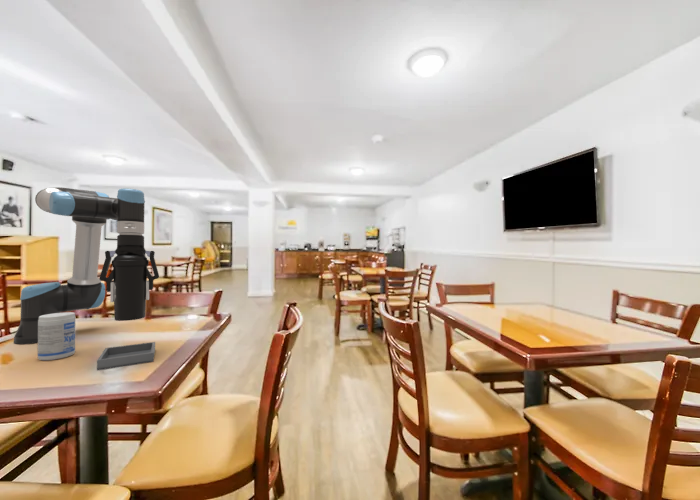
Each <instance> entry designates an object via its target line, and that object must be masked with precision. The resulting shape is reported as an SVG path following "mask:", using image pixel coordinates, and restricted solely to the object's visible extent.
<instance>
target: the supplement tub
mask: <svg viewBox="0 0 700 500" xmlns="http://www.w3.org/2000/svg"><path fill="white" fill-rule="evenodd" d="M75 352H76V312H71V311H65V312H60V313H54V314H46V315H42V316H39V320H38V343H37V359H38V360H39V361H54V360H59V359H65V358H69V357H71V356H72V355H74V354H75Z"/></svg>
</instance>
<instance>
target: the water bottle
mask: <svg viewBox="0 0 700 500" xmlns="http://www.w3.org/2000/svg"><path fill="white" fill-rule="evenodd" d="M116 252H120V255H117V254H116V256H114V258H113V259H111V267H112V270H113V276H114V277H113V280H112V282H114V302H113V306H114V307H113V308H114V321H117V322H118V321H119V322H123V321H124V322H126V321H135V320H142V319H144V318H146V309H147V308H146V307H147V306H146V305H147V300H146V281H148V278H147V276H146V268H147V269H148V267H149V265H150V264H149V262H150V259H148V257H147V255H146V253H145V254H144V253H143V251H137V252H136V254H134V253H133V252H131V253H126V254H121V252H128V251H116Z"/></svg>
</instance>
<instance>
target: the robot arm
mask: <svg viewBox="0 0 700 500" xmlns="http://www.w3.org/2000/svg"><path fill="white" fill-rule="evenodd" d="M116 194H117V195H116V197H110V196H109V194H107V193H104V192H99V191H96V190H95V191H93V190H84V189H76V188H69V187H48V188H44V189H41V190H40V191H38V192H37V193H36V195H35V198H34V199H35V203H36V205H37V206H38V208H39V209H40V210H42V211H43V212H46V213H49V214H53V215H57V216H64V217H71V221H72V222H73V223H75V225H76V226H75V236H74V237H75V239H74V250H73V261H72V263H73V264H72V274H71V275H72V276H71V277H70V278H68V279H67V282H66V284H61V283H60V282H59V281H57V282H56V281H55V282H45V283H38V284H32V285H29V286H25V287H23V288H22V289H21V291H20V292H21V293H20V298H19V300H20V323H19V325H18V327H17V330H16V332H15V334H14V337H13V344H15V345H30V344H31V345H32V344H38V320H39V316H42V315H46V314H54V313H65V312H71V311H79V310H82V311H83V310H90V309H96V308H99V307H100V306H101V305H102V304H103V302H104V300H105V296H106V292H107V293H110V297H109V298H110V303H114V282H113V280H114V279H113V277H114V276H113V269H112V271H111V272H110V274H109V275H108V271H109V268H110V266H111V263H112V258H113V257H115V255H116V256H117V255H120V252H116V251H128V252H121V254H126V253H131V252H133V253H134V254H136V252H137V251H143V253H144V254H145V255H146V257H147V258H149V262H150V264H151V265H150V266H151V269H152V273H153V275H152V274H151V272H150V270H149V269H148V267H147V268H146V276H147V281H146V301H149V300H150V291H152V290H153V289H154V281H155V280H156V279H159V278H160V274H159V271H158V267H157V263H156V260H155V254H156V253H155V251H154V250H146V248H145V236H144V234H145V202H146V201H145V193H144V192H143V191H142V190H139V189H136V188H134V189H133V188H119V189H117V193H116ZM107 220H111V221H112V220H113V221H117V223H116V224H117V226H116V227H117V229H116V230H117V231H116V233H117V234H118V235H117V236H116V240H117V241H116V242H117V243H116V244H117V245H116V249H115V250H105V252H104V254H105V260H104V263H103V265H102V269H101V271H100V275H99V277H98V272H99V260H100V250H101V249H100V248H101V236H102V229H103V226H104V225H107ZM107 275H108V276H107ZM103 282H105V283H106V284H105V283H103ZM105 285H106V286H105Z"/></svg>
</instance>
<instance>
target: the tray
mask: <svg viewBox="0 0 700 500" xmlns="http://www.w3.org/2000/svg"><path fill="white" fill-rule="evenodd" d="M155 353H156V341H152V342H144V343H136V344H127V345H119V346H111V347H105V348H104V349H103V351H102V353H101V354H100V355H99V357H98V358H97V359H96V371H102V370H107V369H115V368H121V367H128V366H133V365H142V364H147V363H154V359H155V355H156V354H155Z"/></svg>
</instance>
